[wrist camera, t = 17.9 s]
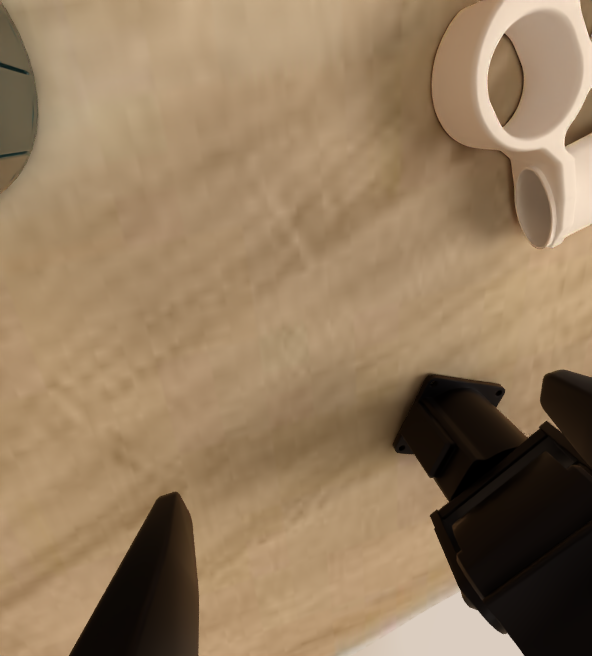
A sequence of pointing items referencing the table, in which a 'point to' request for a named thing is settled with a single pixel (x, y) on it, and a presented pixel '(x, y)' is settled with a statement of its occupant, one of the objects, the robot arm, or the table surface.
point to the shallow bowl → (15, 103)
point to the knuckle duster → (524, 106)
